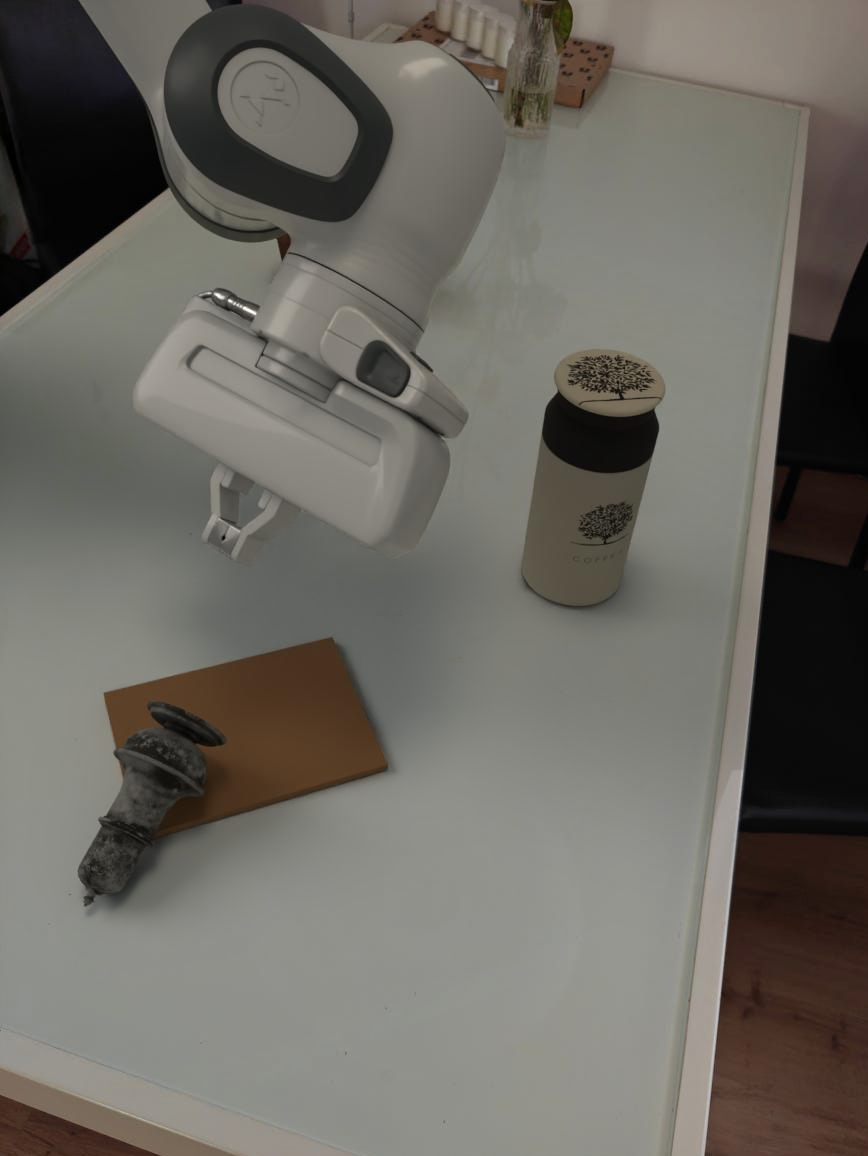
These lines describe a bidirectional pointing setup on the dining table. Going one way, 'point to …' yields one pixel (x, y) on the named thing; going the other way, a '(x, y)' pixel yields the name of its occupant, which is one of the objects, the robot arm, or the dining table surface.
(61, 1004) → the dining table surface
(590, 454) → the travel mug
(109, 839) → the salt shaker
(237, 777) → the cork mat
